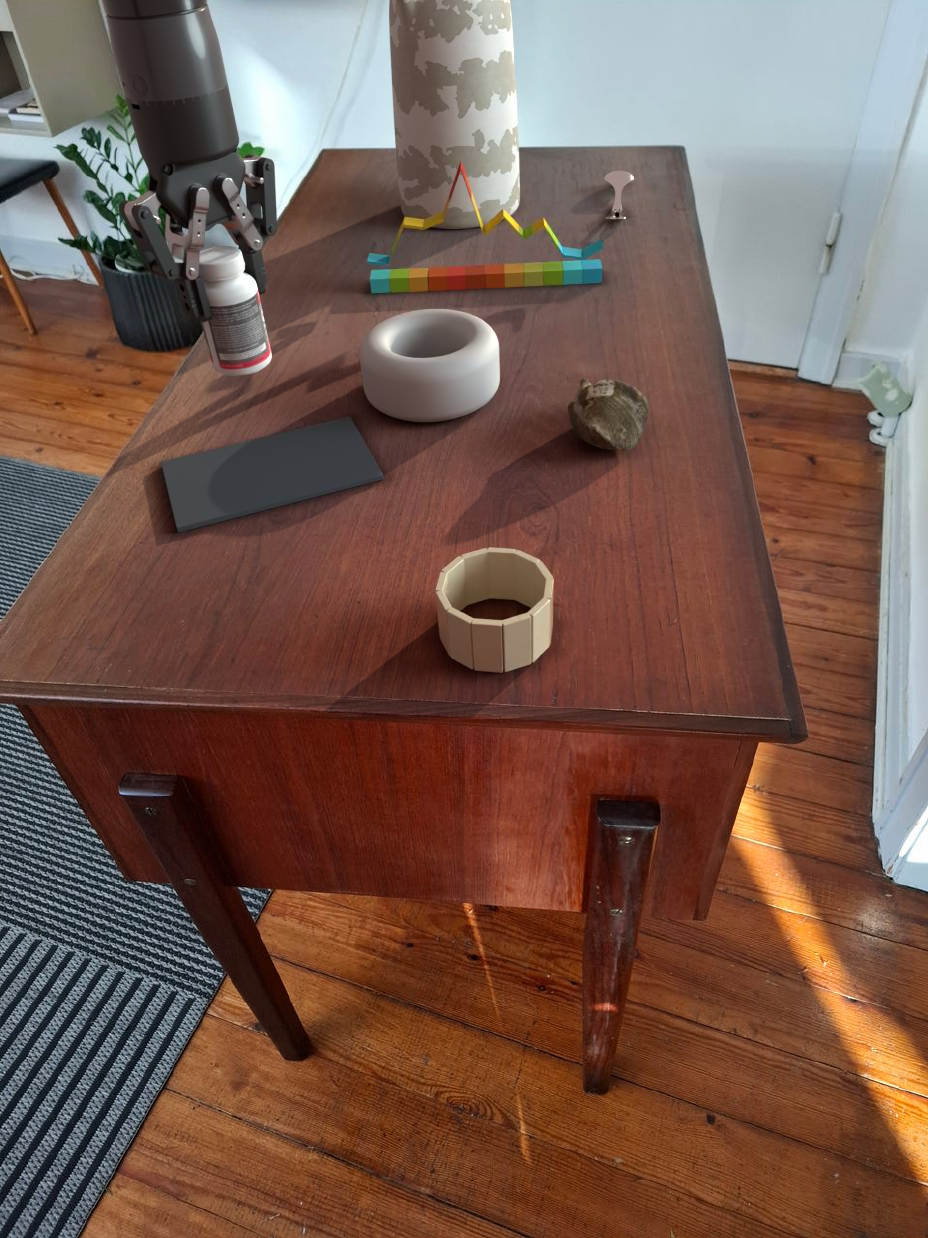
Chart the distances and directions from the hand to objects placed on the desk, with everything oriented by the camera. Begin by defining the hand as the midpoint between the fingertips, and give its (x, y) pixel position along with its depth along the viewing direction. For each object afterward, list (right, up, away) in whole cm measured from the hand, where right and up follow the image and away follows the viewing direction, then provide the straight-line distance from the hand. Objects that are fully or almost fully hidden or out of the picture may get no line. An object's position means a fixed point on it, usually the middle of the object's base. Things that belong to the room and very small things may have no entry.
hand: (228, 304), depth 77 cm
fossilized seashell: (+35, -8, +14) cm, 38 cm away
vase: (+19, +37, +62) cm, 75 cm away
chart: (+23, +18, +42) cm, 51 cm away
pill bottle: (0, -4, +4) cm, 6 cm away
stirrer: (+44, +36, +59) cm, 82 cm away
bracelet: (+23, -28, -6) cm, 37 cm away
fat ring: (+17, -2, +22) cm, 28 cm away
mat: (+1, -12, +12) cm, 17 cm away
